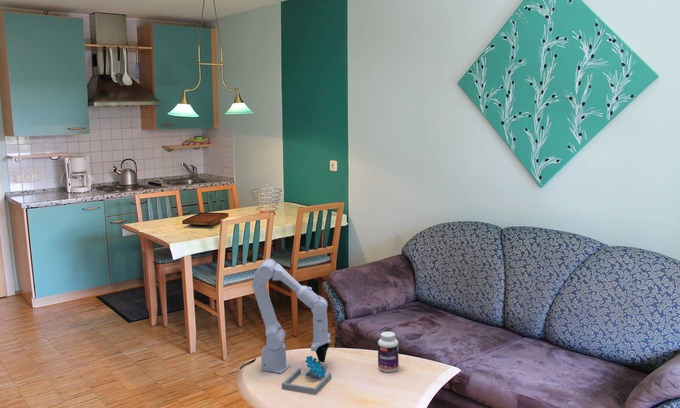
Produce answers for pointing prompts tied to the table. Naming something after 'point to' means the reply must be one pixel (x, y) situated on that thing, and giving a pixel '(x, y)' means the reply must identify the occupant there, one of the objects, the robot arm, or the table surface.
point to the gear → (315, 367)
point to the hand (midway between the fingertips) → (321, 361)
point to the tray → (304, 389)
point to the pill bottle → (388, 352)
